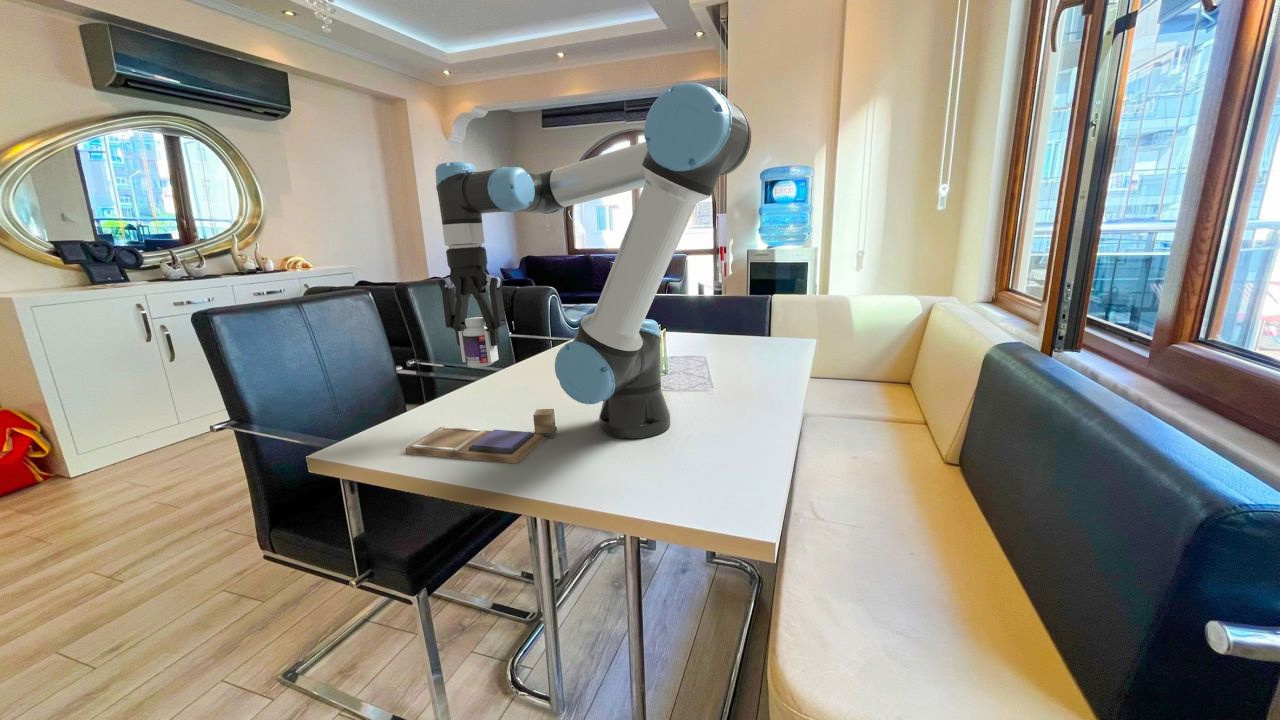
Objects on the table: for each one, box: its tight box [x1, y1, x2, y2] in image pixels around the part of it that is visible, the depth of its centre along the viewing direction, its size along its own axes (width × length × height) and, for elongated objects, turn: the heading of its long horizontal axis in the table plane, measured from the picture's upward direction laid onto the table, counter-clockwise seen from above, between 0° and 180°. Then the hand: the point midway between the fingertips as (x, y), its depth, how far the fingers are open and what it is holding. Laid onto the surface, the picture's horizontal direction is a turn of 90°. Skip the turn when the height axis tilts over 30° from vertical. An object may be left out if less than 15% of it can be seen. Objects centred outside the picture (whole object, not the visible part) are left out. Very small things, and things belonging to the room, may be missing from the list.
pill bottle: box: [463, 316, 495, 368], centre depth 106 cm, size 5×5×10 cm
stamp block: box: [533, 408, 558, 439], centre depth 107 cm, size 4×4×5 cm
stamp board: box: [404, 426, 545, 465], centre depth 102 cm, size 24×11×2 cm, turn 74°
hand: (480, 360), depth 107 cm, fingers closed on pill bottle, 5 cm apart
